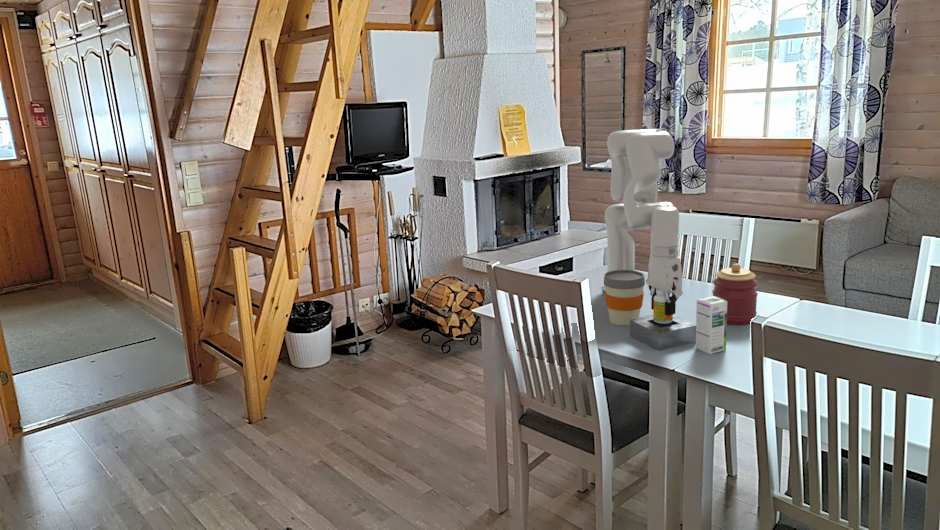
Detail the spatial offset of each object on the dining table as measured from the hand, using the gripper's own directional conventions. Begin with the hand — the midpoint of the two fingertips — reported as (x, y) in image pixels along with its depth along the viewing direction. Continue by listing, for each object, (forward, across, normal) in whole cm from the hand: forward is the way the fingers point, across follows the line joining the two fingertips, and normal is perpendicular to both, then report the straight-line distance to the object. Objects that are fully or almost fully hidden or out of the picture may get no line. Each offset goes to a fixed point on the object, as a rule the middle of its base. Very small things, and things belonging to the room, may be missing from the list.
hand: (663, 311), depth 191 cm
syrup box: (+9, -13, -6) cm, 17 cm away
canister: (+9, +3, -29) cm, 30 cm away
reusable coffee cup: (+9, +18, +1) cm, 20 cm away
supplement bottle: (+3, 0, 0) cm, 3 cm away
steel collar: (+8, 0, 0) cm, 8 cm away
